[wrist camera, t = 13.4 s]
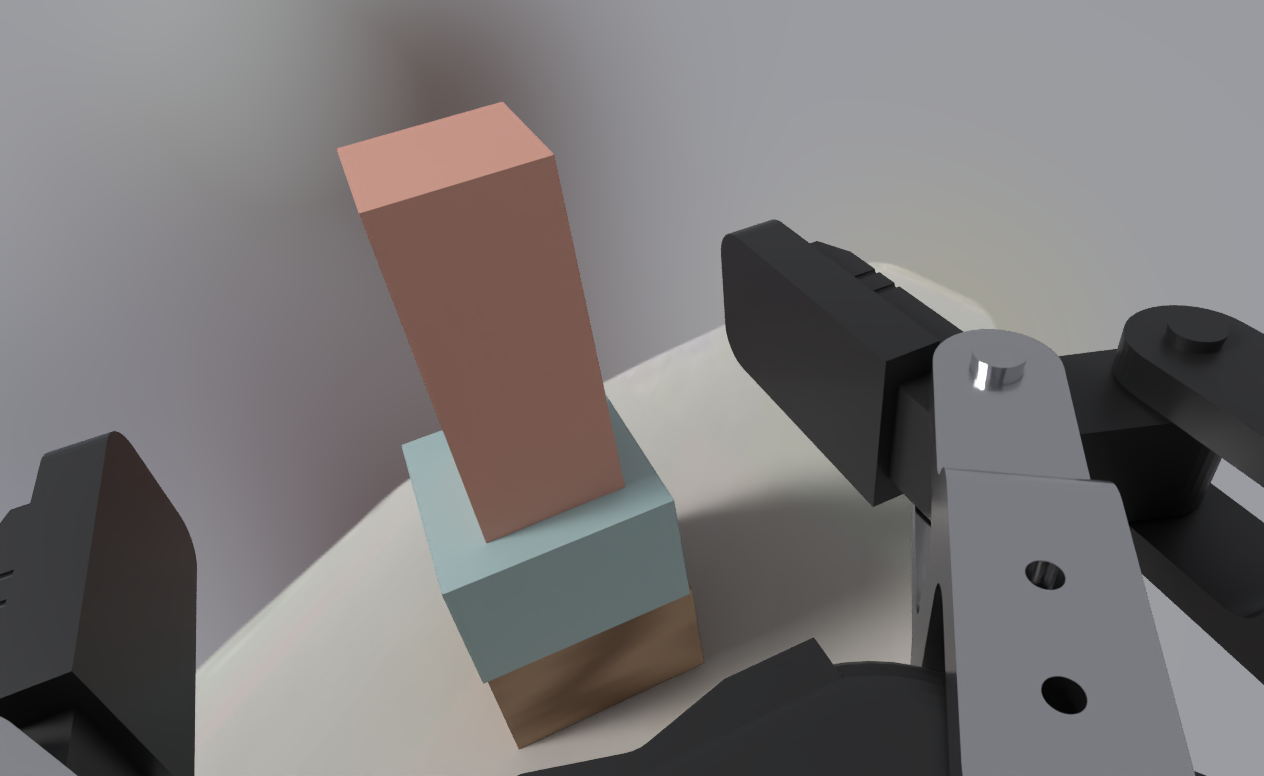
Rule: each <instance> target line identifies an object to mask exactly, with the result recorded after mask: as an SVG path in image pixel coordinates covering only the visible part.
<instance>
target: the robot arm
mask: <svg viewBox="0 0 1264 776" xmlns="http://www.w3.org/2000/svg"><path fill="white" fill-rule="evenodd" d="M721 260H722V276H723V293H724V309H725V325H726V332H727V337H728V341H729V344H730V346H731V349H732V351H733V353H734V355H735V357H736V359H737V361H738V362H739V364H740V365H741V366H742V367H743V369H744V370H745V371H746V372H747V373H748V374H749V375H750V376H751V377H752V378H753V379H754V380H755V381H756V382H757V384H758V385H759V386H760V387H761V388H762V389H763V390H764V391H765V392H766V393H767V394H768V395H769V396H770V397H771V399H772V400H773V401H774V402H775V403H776V404H777V405H778V406H779V407H780V408H781V409H782V410H783V411H784V412H785V413H786V415H787V416H788V417H789V418H790V419H791V420H792V421H793V422H794V423H795V424H796V425H797V426H798V427H799V428H800V429H801V431H802V432H803V433H804V434H805V435H806V436H807V437H808V438H809V439H810V440H811V441H812V442H813V443H814V444H815V446H816V447H817V448H818V449H819V450H820V451H821V452H822V453H823V454H824V455H825V456H826V457H827V458H828V459H829V460H830V462H831V463H832V464H833V465H834V466H835V467H836V468H837V469H838V470H839V471H840V472H841V473H842V474H843V475H844V476H845V478H846V479H847V480H848V481H849V482H850V483H851V484H852V485H853V486H854V487H855V488H856V489H857V490H858V491H859V492H860V494H861V495H862V496H863V497H864V498H865V499H866V500H867V501H868V502H869V503H870V504H871V505H872V506H873V507H874V506H876V505H879V504H881V503H883V502H886V501H888V500H890V499H893V498H895V497H897V496H899V495H902V494H904V495H905V496H906V497H907V498H908V499H909V500H910V501H911V502H912V503H913V512H912V520H911V554H912V648H911V662H910V665H908V664H901V663H895V662H878V661H862V662H846V663H839V664H832V662H831V661H830V659H829V658H828V657H827V655H826V654H825V652H824V651H823V650H822V648H821V647H820V645H819V644H818V643H817V641H816V640H815V639H814V638H812V639H809V640H807V641H805V642H803V643H801V644H799V645H797V646H794V647H792V648H790V649H788V650H786V651H784V652H781V653H779V654H777V655H775V656H773V657H771V658H769V659H766V660H764V661H762V662H760V663H758V664H756V665H754V666H751V667H749V668H747V669H745V670H743V671H741V672H739V673H736V674H734V675H732V676H730V677H728V678H726V679H724V680H723V681H722V682H720V683H719V684H718V685H717V686H715V687H714V688H713V689H712V690H711V691H709V692H708V693H707V694H706V695H705V696H703V697H702V698H701V699H700V700H699V701H697V702H696V703H695V704H694V705H692V706H691V707H690V708H689V709H688V710H686V711H685V712H684V713H683V714H682V715H680V716H679V717H678V718H677V719H676V720H674V721H673V722H672V723H671V724H670V725H668V726H667V727H666V728H665V729H663V730H662V731H661V732H660V733H659V734H657V735H656V736H655V737H654V738H653V739H651V740H650V741H649V742H648V743H646V744H645V745H644V746H642V747H641V748H639V749H636V750H634V751H632V752H628V753H624V754H619V755H614V756H609V757H604V758H599V759H594V760H589V761H584V762H579V763H574V764H569V765H564V766H558V767H553V768H548V769H543V770H538V771H533V772H528V773H523V774H520V775H518V776H1205V775H1203V774H1200V773H1198V772H1195V771H1194V770H1193V765H1192V761H1191V758H1190V754H1189V750H1188V747H1187V743H1186V739H1185V735H1184V731H1183V728H1182V724H1181V720H1180V717H1179V713H1178V709H1177V705H1176V702H1175V698H1174V694H1173V690H1172V686H1171V683H1170V679H1169V675H1168V671H1167V668H1166V664H1165V660H1164V657H1163V653H1162V649H1161V645H1160V641H1159V638H1158V634H1157V630H1156V626H1155V623H1154V619H1153V615H1152V611H1151V608H1150V604H1149V600H1148V596H1147V592H1146V589H1145V585H1144V581H1143V577H1142V574H1143V575H1144V576H1145V577H1146V578H1147V579H1148V580H1149V581H1150V582H1152V584H1154V585H1155V586H1156V587H1157V588H1158V589H1159V590H1160V591H1161V592H1162V593H1164V594H1165V595H1166V596H1167V597H1168V598H1169V599H1170V600H1171V601H1172V602H1173V603H1174V604H1176V605H1177V606H1178V607H1179V608H1180V609H1181V610H1182V611H1183V612H1184V613H1186V614H1187V615H1188V616H1189V617H1190V618H1191V619H1192V620H1193V621H1194V622H1195V623H1196V624H1198V625H1199V626H1200V627H1201V628H1202V629H1203V630H1204V631H1205V632H1206V633H1207V634H1209V635H1210V636H1211V637H1212V638H1213V639H1214V640H1215V641H1216V642H1217V643H1218V644H1220V645H1221V646H1222V647H1223V648H1224V649H1225V650H1226V651H1227V652H1228V653H1230V655H1232V656H1233V657H1234V658H1235V659H1236V660H1237V661H1238V662H1239V663H1240V664H1241V665H1243V666H1244V667H1245V668H1246V669H1247V670H1248V671H1249V672H1250V673H1251V674H1253V675H1254V676H1255V677H1256V678H1257V679H1258V680H1259V681H1260V682H1261V683H1262V684H1263V685H1264V523H1263V522H1262V521H1261V520H1259V519H1258V518H1257V517H1255V516H1254V515H1253V514H1251V513H1250V512H1249V511H1247V510H1246V509H1245V508H1243V507H1242V506H1241V505H1239V504H1238V503H1237V502H1235V501H1234V500H1233V499H1231V498H1230V497H1229V496H1227V495H1226V494H1225V493H1223V492H1222V491H1221V490H1219V489H1218V488H1217V487H1215V486H1213V485H1212V484H1211V481H1212V478H1213V476H1214V474H1215V472H1216V470H1217V467H1218V465H1219V463H1220V461H1221V458H1223V459H1224V460H1226V461H1227V462H1229V463H1230V464H1232V465H1233V466H1234V467H1236V468H1237V469H1238V470H1240V471H1241V472H1243V473H1244V474H1246V475H1247V476H1248V477H1250V478H1251V479H1253V480H1254V481H1255V482H1257V483H1258V484H1260V485H1261V486H1262V487H1264V334H1262V333H1261V332H1259V331H1257V330H1255V329H1254V328H1252V327H1250V326H1248V325H1246V324H1245V323H1243V322H1241V321H1239V320H1237V319H1235V318H1233V317H1230V316H1228V315H1225V314H1222V313H1219V312H1216V311H1212V310H1209V309H1204V308H1198V307H1191V306H1178V305H1172V306H1171V305H1170V306H1158V307H1152V308H1148V309H1145V310H1142V311H1140V312H1138V313H1136V314H1134V315H1133V316H1131V317H1130V318H1129V319H1128V320H1127V322H1126V324H1125V326H1124V329H1123V332H1122V336H1121V339H1120V342H1119V345H1118V349H1113V350H1105V351H1097V352H1089V353H1082V354H1073V355H1066V356H1058V355H1057V354H1056V353H1055V352H1054V351H1052V349H1051V348H1049V347H1048V346H1046V345H1045V344H1043V343H1041V342H1040V341H1037V340H1036V339H1033V338H1031V337H1028V336H1025V335H1022V334H1019V333H1015V332H1010V331H1005V330H996V329H980V330H971V331H966V332H963V331H961V330H960V329H959V328H957V327H956V326H954V325H953V324H952V323H950V322H949V321H947V320H946V319H945V318H943V317H942V316H940V315H939V314H937V313H936V312H935V311H933V310H932V309H930V308H929V307H928V306H926V305H925V304H923V303H922V302H921V301H919V300H918V299H916V298H915V297H914V296H912V295H911V294H909V293H908V292H906V291H905V290H904V289H902V288H901V287H897V288H896V287H895V284H894V282H892V281H891V280H890V279H888V278H887V277H885V276H884V275H882V274H881V273H880V272H879V273H876V272H875V269H874V268H873V267H871V266H870V265H868V264H867V263H866V262H864V261H863V260H861V259H860V258H859V257H857V256H856V255H854V254H853V253H851V252H849V251H846V250H843V249H840V248H837V247H834V246H831V245H828V244H825V243H822V242H818V241H816V242H813V243H808V242H807V241H806V240H804V239H803V238H801V237H800V236H799V235H798V234H796V233H795V232H794V231H792V230H791V229H790V228H788V227H787V226H785V225H784V224H783V223H782V222H780V221H778V220H770V221H767V222H764V223H761V224H757V225H754V226H751V227H748V228H745V229H742V230H739V231H736V232H733V233H730V234H727V235H726V236H725V237H724V238H723V241H722V245H721ZM1141 573H1142V574H1141ZM196 585H197V562H196V555H195V550H194V547H193V543H192V540H191V537H190V534H189V532H188V530H187V527H186V525H185V523H184V521H183V520H182V518H181V516H180V515H179V513H178V512H177V511H176V509H175V508H174V506H173V505H172V503H171V502H170V500H169V499H168V497H167V496H166V494H165V493H164V491H163V490H162V489H161V487H160V486H159V484H158V483H157V481H156V480H155V478H154V477H153V475H152V474H151V472H150V471H149V469H148V468H147V467H146V465H145V464H144V462H143V461H142V459H141V458H140V456H139V455H138V454H137V452H136V450H135V449H134V447H133V446H132V445H131V443H130V442H129V441H128V440H127V439H126V437H124V436H123V435H122V434H121V433H119V432H116V431H114V432H110V433H107V434H103V435H100V436H97V437H94V438H91V439H88V440H85V441H82V442H79V443H76V444H72V445H69V446H66V447H64V448H60V449H58V450H54V451H51V452H48V453H46V454H44V456H43V457H42V460H41V463H40V466H39V470H38V475H37V479H36V483H35V487H34V491H33V495H32V499H31V503H30V504H27V505H24V506H21V507H18V508H15V509H12V510H10V511H9V513H8V514H7V515H6V516H5V518H4V519H3V520H2V522H1V523H0V776H194V756H195V674H196V592H197V589H196V587H197V586H196Z"/></svg>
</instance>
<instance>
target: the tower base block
mask: <svg viewBox="0 0 1264 776" xmlns="http://www.w3.org/2000/svg"><path fill="white" fill-rule="evenodd" d="M688 586H689V592H690V594H688V595H686V596H684V597H681V598H679V599H677V600H674V601H672V602H670V603H668V604H665V605H663V606H661V607H658V608H656V609H654V610H652V611H649V612H647V613H645V614H642V615H640V616H638V617H635V618H633V619H631V620H629V621H626V622H624V623H622V624H619V625H617V626H615V627H613V628H610V629H608V630H606V631H603V632H601V633H599V634H596V635H594V636H592V637H590V638H587V639H585V640H583V641H580V642H578V643H576V644H574V645H571V646H569V647H567V648H564V649H562V650H560V651H557V652H555V653H553V654H551V655H548V656H546V657H544V658H541V659H539V660H537V661H535V662H532V663H530V664H528V665H525V666H523V667H521V668H518V669H516V670H514V671H512V672H509V673H507V674H505V675H502V676H500V677H498V678H496V679H493V680H491V681H489V682H488V683H489V685H490V687H491V690H492V692H493V694H494V696H495V698H496V701H497V703H498V705H499V707H500V709H501V711H502V714H503V716H504V718H505V720H506V722H507V725H508V727H509V729H510V731H511V733H512V735H513V738H514V740H515V742H516V744H517V746H518V748H519V749H521V748H523V747H525V746H527V745H529V744H531V743H534V742H536V741H538V740H540V739H542V738H544V737H546V736H549V735H551V734H553V733H555V732H557V731H559V730H561V729H563V728H566V727H568V726H570V725H572V724H574V723H576V722H578V721H581V720H583V719H585V718H587V717H589V716H591V715H593V714H596V713H598V712H600V711H602V710H604V709H606V708H608V707H611V706H613V705H615V704H617V703H619V702H621V701H623V700H626V699H628V698H630V697H632V696H634V695H636V694H638V693H640V692H643V691H645V690H647V689H649V688H651V687H653V686H655V685H658V684H660V683H662V682H664V681H666V680H668V679H670V678H673V677H675V676H677V675H679V674H681V673H683V672H685V671H688V670H690V669H692V668H694V667H696V666H698V665H700V664H703V663H704V659H703V653H702V647H701V641H700V635H699V629H698V623H697V617H696V611H695V605H694V599H693V592H692V589H691V587H690V585H689V584H688Z"/></svg>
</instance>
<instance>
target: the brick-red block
mask: <svg viewBox="0 0 1264 776" xmlns="http://www.w3.org/2000/svg"><path fill="white" fill-rule="evenodd" d="M337 151H338V154H339V157H340V160H341V163H342V166H343V169H344V172H345V174H346V177H347V180H348V183H349V186H350V189H351V192H352V195H353V198H354V200H355V203H356V206H357V209H358V212H359V214H360V217H361V220H362V222H363V225H364V228H365V230H366V233H367V235H368V238H369V240H370V243H371V246H372V248H373V251H374V254H375V256H376V259H377V261H378V264H379V267H380V269H381V272H382V274H383V277H384V279H385V282H386V284H387V287H388V290H389V293H390V295H391V298H392V300H393V303H394V305H395V308H396V311H397V313H398V316H399V318H400V321H401V324H402V326H403V329H404V331H405V334H406V336H407V339H408V342H409V344H410V347H411V349H412V352H413V354H414V357H415V360H416V363H417V365H418V368H419V370H420V373H421V375H422V378H423V381H424V383H425V386H426V388H427V391H428V393H429V396H430V399H431V401H432V404H433V407H434V409H435V412H436V414H437V417H438V419H439V422H440V425H441V427H442V430H443V433H444V435H445V438H446V440H447V443H448V446H449V448H450V451H451V453H452V456H453V459H454V461H455V464H456V466H457V469H458V471H459V474H460V477H461V479H462V482H463V484H464V487H465V490H466V492H467V495H468V497H469V500H470V503H471V505H472V508H473V510H474V513H475V516H476V518H477V521H478V523H479V526H480V529H481V531H482V534H483V536H484V539H485V542H486V543H488V542H491V541H493V540H495V539H498V538H500V537H503V536H505V535H508V534H510V533H513V532H515V531H518V530H520V529H523V528H525V527H528V526H530V525H533V524H535V523H538V522H540V521H543V520H545V519H548V518H550V517H552V516H555V515H557V514H560V513H562V512H565V511H567V510H570V509H572V508H575V507H577V506H580V505H582V504H585V503H587V502H590V501H592V500H595V499H597V498H600V497H602V496H605V495H607V494H609V493H612V492H614V491H617V490H619V489H622V488H624V487H625V484H624V479H623V475H622V470H621V465H620V461H619V456H618V451H617V447H616V442H615V437H614V433H613V428H612V423H611V419H610V414H609V409H608V405H607V400H606V395H605V390H604V386H603V381H602V377H601V372H600V367H599V362H598V358H597V353H596V349H595V344H594V339H593V334H592V330H591V325H590V320H589V316H588V311H587V306H586V302H585V297H584V292H583V288H582V283H581V278H580V273H579V269H578V265H577V259H576V255H575V250H574V245H573V241H572V236H571V231H570V227H569V222H568V217H567V213H566V208H565V203H564V199H563V194H562V189H561V185H560V180H559V175H558V170H557V166H556V161H555V157H554V154H553V153H552V152H551V151H550V150H549V149H548V148H547V147H546V146H545V145H544V144H543V143H542V142H541V141H540V140H539V139H538V138H537V137H536V136H535V135H534V134H533V132H531V130H530V129H529V128H528V127H527V126H526V125H525V124H524V123H523V122H522V121H521V120H520V119H519V118H518V117H517V116H516V115H515V114H514V113H513V112H512V111H511V110H510V109H509V108H508V107H507V106H506V105H505V104H504V103H503V102H500V103H496V104H493V105H489V106H485V107H482V108H478V109H475V110H471V111H468V112H464V113H461V114H457V115H454V116H450V117H446V118H443V119H440V120H436V121H433V122H429V123H426V124H422V125H418V126H415V127H411V128H408V129H404V130H400V131H397V132H393V133H390V134H386V135H383V136H379V137H376V138H372V139H369V140H365V141H362V142H358V143H354V144H351V145H347V146H344V147H340V148H337Z"/></svg>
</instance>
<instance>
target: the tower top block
mask: <svg viewBox="0 0 1264 776" xmlns="http://www.w3.org/2000/svg"><path fill="white" fill-rule="evenodd" d="M605 395H606V394H605ZM606 400H607V405H608V409H609V414H610V419H611V423H612V428H613V433H614V437H615V442H616V447H617V451H618V456H619V461H620V465H621V470H622V475H623V479H624V484H625V487H624V488H622V489H619V490H617V491H614V492H612V493H609V494H607V495H605V496H602V497H600V498H597V499H595V500H592V501H590V502H587V503H585V504H582V505H580V506H577V507H575V508H572V509H570V510H567V511H565V512H562V513H560V514H557V515H555V516H552V517H550V518H548V519H545V520H543V521H540V522H538V523H535V524H533V525H530V526H528V527H525V528H523V529H520V530H518V531H515V532H513V533H510V534H508V535H505V536H503V537H500V538H498V539H495V540H493V541H491V542H488V543H486V542H485V539H484V536H483V534H482V531H481V529H480V526H479V523H478V521H477V518H476V516H475V513H474V510H473V508H472V505H471V503H470V500H469V497H468V495H467V492H466V490H465V487H464V484H463V482H462V479H461V477H460V474H459V471H458V469H457V466H456V464H455V461H454V459H453V456H452V453H451V451H450V448H449V446H448V443H447V440H446V438H445V435H444V433H443V430H442V431H439V432H437V433H434V434H431V435H428V436H425V437H423V438H420V439H417V440H414V441H412V442H409V443H406V444H403V445H402V449H403V452H404V456H405V460H406V463H407V467H408V471H409V475H410V478H411V482H412V486H413V489H414V493H415V497H416V501H417V504H418V508H419V512H420V515H421V519H422V523H423V526H424V530H425V534H426V537H427V541H428V545H429V549H430V552H431V556H432V560H433V563H434V567H435V571H436V574H437V578H438V582H439V586H440V589H441V593H442V596H443V598H444V600H445V602H446V604H447V607H448V609H449V611H450V613H451V615H452V617H453V619H454V622H455V624H456V626H457V628H458V630H459V632H460V634H461V637H462V639H463V641H464V643H465V645H466V647H467V649H468V652H469V654H470V656H471V658H472V660H473V662H474V665H475V667H476V669H477V671H478V673H479V675H480V677H481V680H482V682H483V684H484V683H486V682H489V681H491V680H493V679H496V678H498V677H500V676H502V675H505V674H507V673H509V672H512V671H514V670H516V669H518V668H521V667H523V666H525V665H528V664H530V663H532V662H535V661H537V660H539V659H541V658H544V657H546V656H548V655H551V654H553V653H555V652H557V651H560V650H562V649H564V648H567V647H569V646H571V645H574V644H576V643H578V642H580V641H583V640H585V639H587V638H590V637H592V636H594V635H596V634H599V633H601V632H603V631H606V630H608V629H610V628H613V627H615V626H617V625H619V624H622V623H624V622H626V621H629V620H631V619H633V618H635V617H638V616H640V615H642V614H645V613H647V612H649V611H652V610H654V609H656V608H658V607H661V606H663V605H665V604H668V603H670V602H672V601H674V600H677V599H679V598H681V597H684V596H686V595H688V594H690V592H689V586H688V580H687V574H686V568H685V562H684V556H683V550H682V544H681V538H680V532H679V526H678V520H677V514H676V508H675V503H674V499H673V498H672V496H671V495H670V493H669V492H668V490H667V488H666V487H665V485H664V484H663V482H662V481H661V479H660V478H659V476H658V475H657V473H656V471H655V470H654V468H653V467H652V465H651V464H650V462H649V461H648V459H647V458H646V456H645V454H644V453H643V451H642V450H641V448H640V447H639V445H638V444H637V442H636V441H635V439H634V437H633V436H632V434H631V433H630V431H629V430H628V428H627V427H626V425H625V423H624V422H623V420H622V419H621V417H620V416H619V414H618V413H617V411H616V410H615V408H614V406H613V405H612V403H611V402H610V400H609V399H608V397H607V396H606Z"/></svg>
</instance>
